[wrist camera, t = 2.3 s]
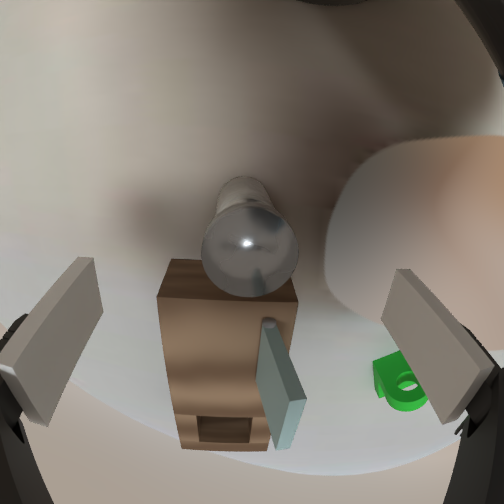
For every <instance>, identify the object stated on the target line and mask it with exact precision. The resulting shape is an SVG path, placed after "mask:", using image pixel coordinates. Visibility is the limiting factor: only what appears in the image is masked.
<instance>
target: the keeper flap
mask: <svg viewBox="0 0 504 504" xmlns="http://www.w3.org/2000/svg"><path fill="white" fill-rule="evenodd" d="M276 323H277V322H276V320H275V319H273V318H265V319H263V321H262V329H261V338H260V346H259V355H258V363H257V371H256V380H255V382H256V383H257V387H258V390H259V394H260V397H261V401H262V405H263V408H264V412H265V415H266V419H267V422H268V426H269V429H270V433H271V436H272V439H273V443H274V446H275V450H282V449H288V448H290V446H291V443H292V441H293V438H294V435H295V432H296V429H297V427H298V424H299V421H300V418H301V415H302V412H303V409H304V406H305V403H306V400H307V398H306V395H305V393H304V391H303V388H302V386H301V383H300V381H299V378H298V376H297V374H296V371H295V369H294V366H293V364H292V361H291V359H290V357H289V354H288V352H287V349H286V347H285V344H284V342H283V339H282V337H281V335H280V332H279V330H278V327H277V325H276Z"/></svg>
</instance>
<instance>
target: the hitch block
mask: <svg viewBox="0 0 504 504" xmlns="http://www.w3.org/2000/svg"><path fill="white" fill-rule="evenodd" d="M157 305H158V314H159V322H160V330H161V338H162V345H163V352H164V358H165V365H166V371H167V377H168V383H169V389H170V394H171V400H172V405H173V410H174V415H175V420H176V425H177V430H178V434H179V439H180V443H181V447H182V449H193V450H208V451H267V448H268V444H269V440H270V436H271V433H270V429H269V426H268V422H267V419H266V415H265V412H264V408H263V405H262V401H261V397H260V394H259V390H258V387H257V383H256V382H255V380H256V371H257V363H258V355H259V346H260V338H261V329H262V321H263V319H265V318H273V319H275V320H276V322H277V323H276V325H277V327H278V330H279V332H280V335H281V337H282V339H283V342H284V344H285V347H286V349H287V352H288V354H289V350H290V345H291V340H292V335H293V329H294V324H295V319H296V313H297V308H298V299H297V296H296V293H295V290H294V287H293V283H292V280H291V277H290V278H289V279H288V280H287V281H286V282H285V283H284V284H283V285H282V286H281V287H279V288H278V289H276V290H275V291H273V292H271V293H268V294H266V295H262V296H257V297H240V296H235V295H232V294H229V293H227V292H225V291H223V290H222V289H220V288H219V287H217V286H216V285H215V284H214V283H213V282H212V281H211V280H210V278H209V277H208V276H207V274H206V272H205V270H204V267H203V264H202V260H184V259H171V261H170V264H169V266H168V269H167V271H166V274H165V276H164V279H163V281H162V284H161V287H160V289H159V292H158V295H157Z"/></svg>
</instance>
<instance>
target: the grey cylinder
mask: <svg viewBox="0 0 504 504" xmlns="http://www.w3.org/2000/svg"><path fill="white" fill-rule="evenodd" d="M298 254H299V250H298V243H297V239H296V237H295V234H294V232H293V230H292V228H291V226H290V224H289V223H288V221H287V220H286V218H285V217H284V216H283V215H282V214H281V213H280V212H278V211H277V210H276V209H274V207H273V205H272V202H271V200H270V198H269V196H268V193H267V191H266V189H265V187H264V186H263V185H262V184H261V183H260V182H259V181H257V180H256V179H254V178H251V177H245V176H241V177H236V178H233V179H231V180H230V181H228V182H227V183H226V184H225V185H224V186H223V187H222V189H221V191H220V193H219V197H218V202H217V208H216V214H215V217H214V218H213V219H212V221H211V222H210V223H209V225H208V227H207V229H206V232H205V235H204V240H203V244H202V250H201V258H202V264H203V267H204V270H205V272H206V274H207V276H208V277H209V278H210V280H211V281H212V282H213V283H214V284H215V285H216V286H217V287H219V288H220V289H222V290H223V291H225V292H227V293H229V294H232V295H235V296H240V297H257V296H262V295H266V294H268V293H271V292H273V291H275V290H276V289H278V288H279V287H281V286H282V285H283V284H284V283H285V282H286V281H287V280H288V279H289V278H290V276H291V275H292V273H293V272H294V270H295V268H296V265H297V261H298Z"/></svg>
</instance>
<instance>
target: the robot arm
mask: <svg viewBox="0 0 504 504" xmlns="http://www.w3.org/2000/svg"><path fill="white" fill-rule="evenodd" d="M298 1H302V2H306V3H311V4H318V5H330V6H339V5H350V4H356V3H360V2H363V1H366V0H298ZM454 1H455V2H456V3H457V5H458V6H459V7H460V9H461V10H462V12H463V13H464V14H465V16H466V17H467V19H468V20H469V22H470V23H471V25H472V26H473V28H474V29H475V31H476V32H477V34H478V36H479V37H480V39H481V41H482V42H483V44H484V46H485V47H486V49H487V51H488V52H489V54H490V56H491V58H492V60H493V61H494V63H495V65H496V67H497V69H498V73H499V77H500V79H501V81H502V84H503V87H504V0H454ZM102 314H103V307H102V302H101V297H100V292H99V287H98V282H97V276H96V271H95V265H94V258H90V257H78V258H77V259H76V260H75V261H74V262H73V263H72V264H71V265H70V266H69V268H68V269H67V270H66V271H65V272H64V273H63V274H62V275H61V276H60V278H59V279H58V280H57V281H56V282H55V283H54V285H53V286H52V287H51V288H50V289H49V290H48V292H47V293H46V294H45V295H44V296H43V298H42V299H41V300H40V301H39V302H38V304H37V305H36V306H35V307H34V308H33V310H32V311H31V312H30V313H29V314H24V315H23V316H21V317H20V318H18V319H17V320H15V322H14V323H13V324H12V325H11V327H10V328H9V329H8V332H6V333H5V334H4V336H3V339H1V340H0V504H54V503H53V501H52V499H51V496H50V494H49V492H48V490H47V488H46V485H45V483H44V481H43V479H42V476H41V474H40V471H39V469H38V466H37V464H36V461H35V459H34V456H33V453H32V450H31V448H30V445H29V442H28V439H27V436H26V433H25V429H24V426H23V423H22V422H21V420H20V418H19V417H20V415H21V413H22V411H24V413H25V415H26V416H27V418H28V419H29V421H31V422H34V423H37V424H40V425H43V426H46V427H48V425H49V423H50V420H51V418H52V416H53V413H54V411H55V409H56V407H57V404H58V402H59V399H60V397H61V395H62V393H63V391H64V388H65V387H66V384H67V382H68V380H69V378H70V376H71V374H72V372H73V370H74V368H75V365H76V363H77V361H78V359H79V357H80V355H81V353H82V351H83V349H84V347H85V346H86V344H87V342H88V340H89V338H90V336H91V334H92V332H93V330H94V328H95V326H96V325H97V323H98V321H99V319H100V317H101V315H102ZM381 320H382V322H383V323H384V325H385V327H386V328H387V330H388V331H389V333H390V335H391V336H392V338H393V339H394V341H395V343H396V344H397V346H398V348H399V349H400V351H401V353H402V354H403V356H404V358H405V359H406V361H407V363H408V364H409V366H410V368H411V369H412V371H413V373H414V375H415V376H416V378H417V380H418V382H419V383H420V385H421V387H422V389H423V390H424V392H425V394H426V396H427V397H428V399H429V401H430V403H431V405H432V407H433V408H434V410H435V412H436V414H437V416H438V418H439V420H440V421H441V423H442V425H443V424H446V423H449V422H452V421H455V420H457V419H458V418H459V417H460V415H461V414H462V413H463V411H464V410H465V409H466V411H467V412H468V414H469V415H468V416H467V417H466V419H465V420H464V421H463V422H462V423H461V425H460V426H459V427H458V428H457V430H456V431H455V433H454V434H455V435H457V434H458V432H459V431H460V430H461V429H463V431H462V433H461V435H460V436H461V441H460V446H459V450H458V454H457V458H456V462H455V466H454V469H453V473H452V477H451V480H450V484H449V487H448V490H447V493H446V496H445V499H444V502H443V504H504V368H502V369H501V368H500V366H499V365H498V364H497V363H496V361H495V360H494V359H493V358H492V356H491V355H490V354H489V353H488V351H487V350H486V349H485V348H484V346H482V344H481V343H480V342H479V341H478V340H476V337H475V336H474V335H473V334H472V332H471V331H470V330H469V329H467V328H466V327H465V326H463V325H462V324H461V323H459V322H458V321H457V319H456V318H455V317H454V316H453V315H452V314H451V313H450V312H449V310H448V309H447V308H446V307H445V306H444V305H443V304H442V303H441V302H440V300H439V299H438V298H437V297H436V296H435V295H434V294H433V293H432V292H431V291H430V290H429V289H428V288H427V287H426V285H425V284H424V283H423V282H422V281H421V280H420V279H419V278H418V277H417V276H416V275H415V274H414V273H413V272H412V271H411V270H410V269H396V273H395V276H394V280H393V283H392V286H391V289H390V293H389V296H388V299H387V302H386V305H385V308H384V311H383V314H382V317H381Z"/></svg>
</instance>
